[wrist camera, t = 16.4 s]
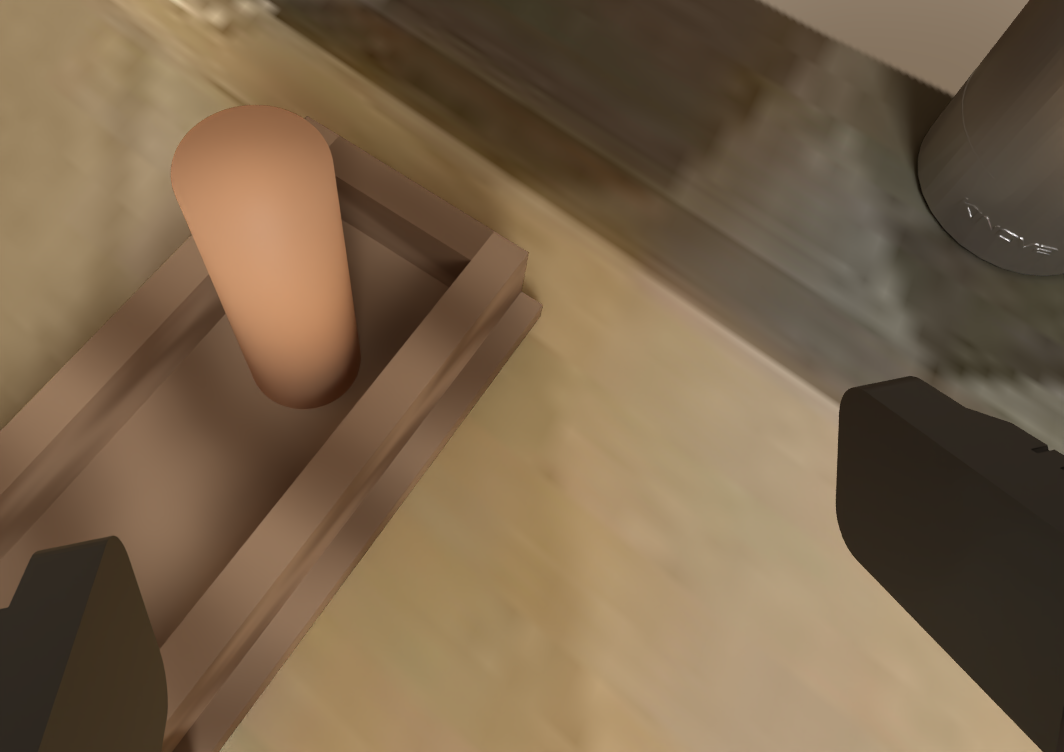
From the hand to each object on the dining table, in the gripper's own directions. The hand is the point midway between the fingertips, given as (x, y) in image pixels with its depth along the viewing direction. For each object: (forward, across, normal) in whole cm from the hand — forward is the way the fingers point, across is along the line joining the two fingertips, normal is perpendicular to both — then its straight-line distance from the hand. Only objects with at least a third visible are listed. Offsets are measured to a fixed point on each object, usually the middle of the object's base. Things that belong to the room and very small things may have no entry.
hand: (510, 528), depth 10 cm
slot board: (+24, +6, +9) cm, 26 cm away
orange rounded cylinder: (+25, +3, +7) cm, 26 cm away
